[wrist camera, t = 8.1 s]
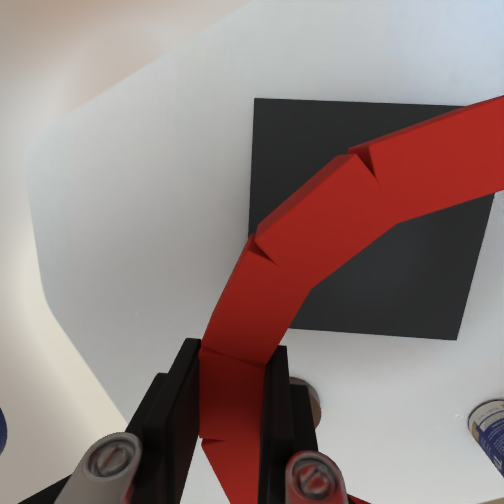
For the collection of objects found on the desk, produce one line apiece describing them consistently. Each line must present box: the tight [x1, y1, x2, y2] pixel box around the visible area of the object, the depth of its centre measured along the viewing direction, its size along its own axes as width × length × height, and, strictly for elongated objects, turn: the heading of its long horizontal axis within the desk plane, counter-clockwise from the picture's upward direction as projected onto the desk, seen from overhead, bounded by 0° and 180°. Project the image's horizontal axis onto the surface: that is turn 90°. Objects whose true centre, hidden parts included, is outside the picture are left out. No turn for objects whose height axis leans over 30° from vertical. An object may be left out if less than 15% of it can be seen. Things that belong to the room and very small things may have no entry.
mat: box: [248, 98, 495, 340], centre depth 26 cm, size 20×20×1 cm
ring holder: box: [289, 378, 321, 429], centre depth 30 cm, size 6×6×4 cm
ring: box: [198, 95, 504, 504], centre depth 11 cm, size 19×19×2 cm
